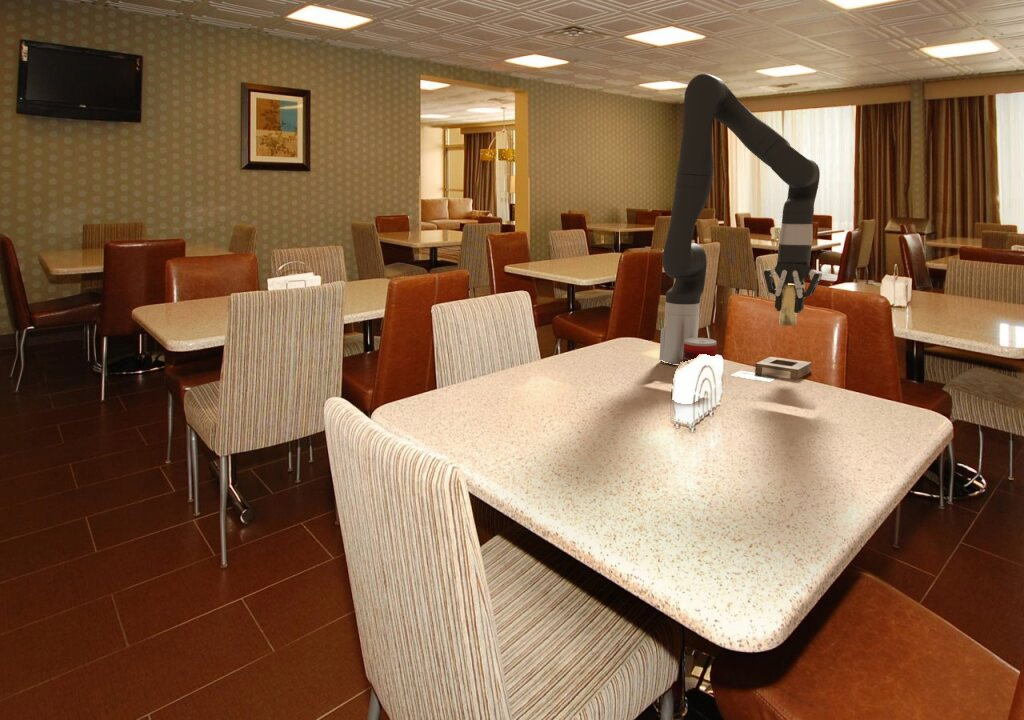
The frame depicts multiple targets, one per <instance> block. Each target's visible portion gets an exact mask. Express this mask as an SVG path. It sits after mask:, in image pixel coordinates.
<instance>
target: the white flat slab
mask: <svg viewBox="0 0 1024 720" xmlns="http://www.w3.org/2000/svg"><path fill="white" fill-rule="evenodd" d="M729 377H735V378H739V379H740V378H741V379H747V380H751V381H759V382H765V383H771V382H774V381H775V380H777V379H778V378H780V377H777V376H771V375H764V374H758V373H755V372H752V371H744V370H739V371H737V372H734V373H732V374H730V375H729Z"/></svg>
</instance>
